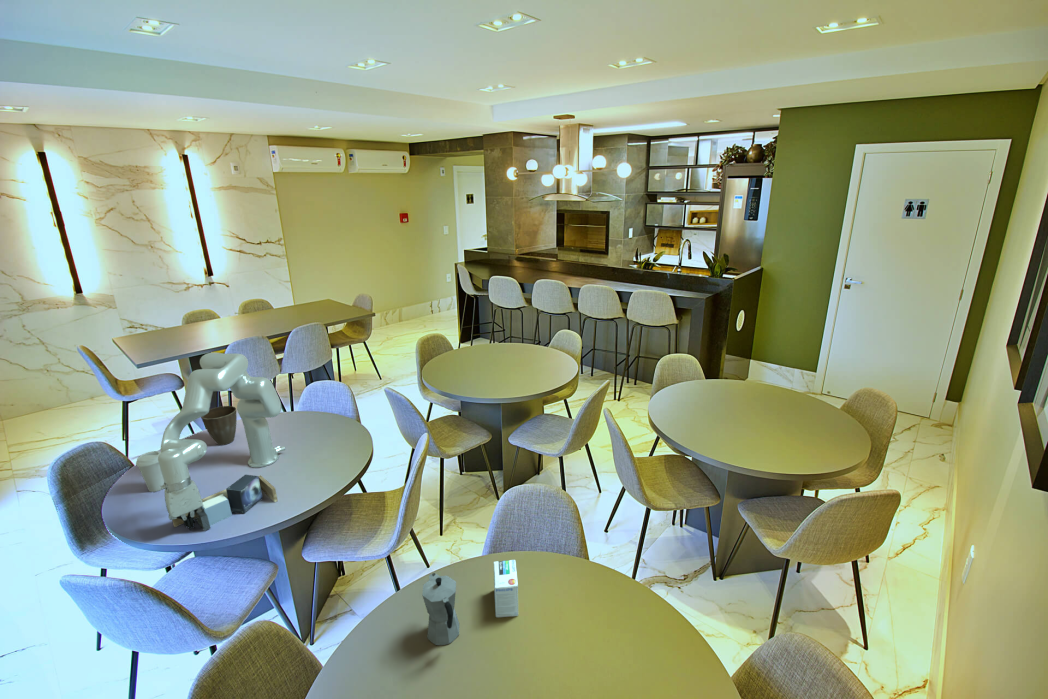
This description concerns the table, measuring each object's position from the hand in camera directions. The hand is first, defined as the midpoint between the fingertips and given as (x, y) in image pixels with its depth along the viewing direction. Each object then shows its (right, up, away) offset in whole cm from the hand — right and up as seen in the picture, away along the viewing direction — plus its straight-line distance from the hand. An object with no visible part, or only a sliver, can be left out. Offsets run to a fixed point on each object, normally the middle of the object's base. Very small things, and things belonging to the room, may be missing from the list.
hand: (190, 526), depth 182 cm
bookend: (+3, 0, +3) cm, 4 cm away
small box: (+13, +3, +14) cm, 19 cm away
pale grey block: (+6, +1, +7) cm, 9 cm away
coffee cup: (-32, +6, +27) cm, 43 cm away
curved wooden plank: (+8, +2, +9) cm, 12 cm away
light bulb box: (+116, -10, -35) cm, 122 cm away
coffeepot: (+100, -14, -45) cm, 110 cm away
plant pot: (-26, +19, +65) cm, 72 cm away
